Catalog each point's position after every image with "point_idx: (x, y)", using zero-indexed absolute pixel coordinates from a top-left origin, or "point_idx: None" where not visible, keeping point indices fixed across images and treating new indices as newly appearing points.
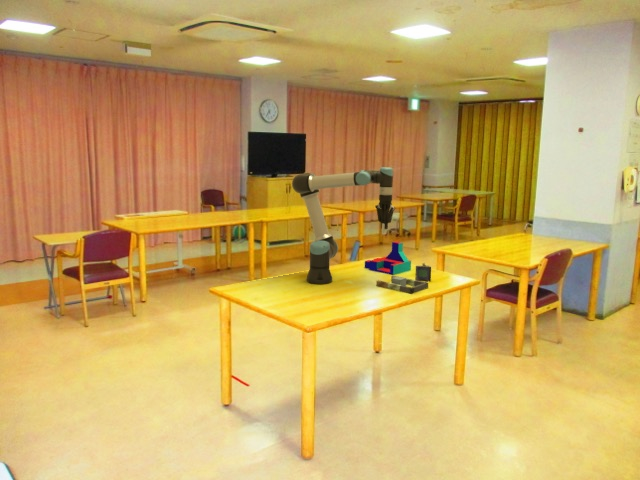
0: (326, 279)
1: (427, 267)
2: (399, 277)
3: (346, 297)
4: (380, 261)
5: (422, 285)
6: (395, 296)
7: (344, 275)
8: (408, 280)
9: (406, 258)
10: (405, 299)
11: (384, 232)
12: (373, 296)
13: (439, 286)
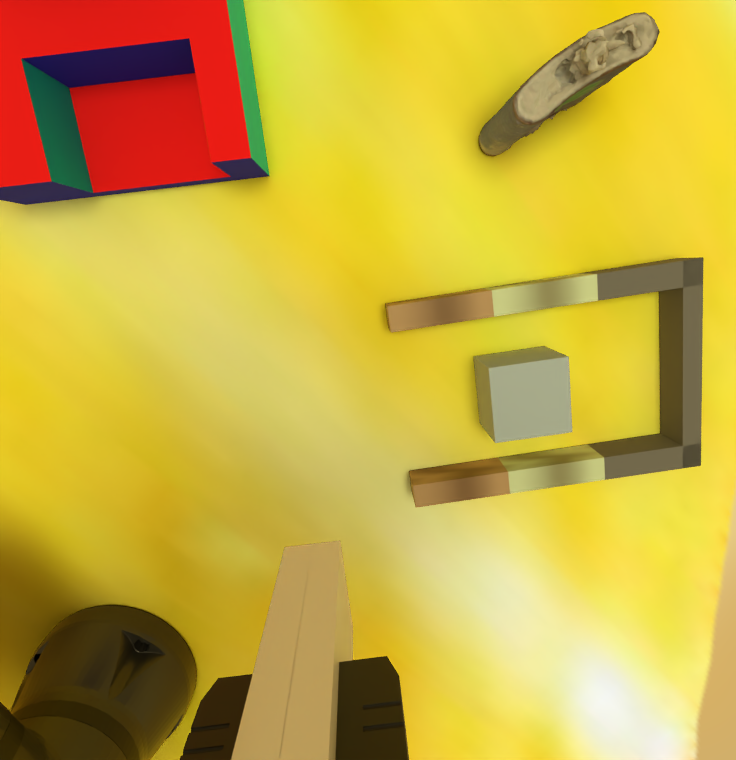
0: (186, 699)
1: (631, 63)
2: (523, 385)
3: (469, 745)
4: (38, 121)
5: (698, 337)
6: (637, 557)
7: (76, 471)
8: (544, 308)
9: None
10: (711, 557)
11: (348, 639)
12: (551, 642)
13: (717, 156)
